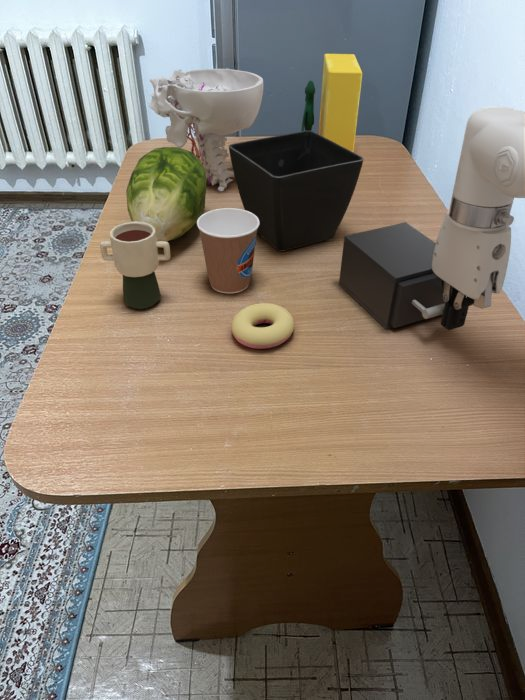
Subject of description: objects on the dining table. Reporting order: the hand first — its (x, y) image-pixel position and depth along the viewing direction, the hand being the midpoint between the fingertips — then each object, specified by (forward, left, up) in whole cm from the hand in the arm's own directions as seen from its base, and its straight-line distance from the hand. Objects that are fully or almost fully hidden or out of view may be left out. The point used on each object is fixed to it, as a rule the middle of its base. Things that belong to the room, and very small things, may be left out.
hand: (452, 325), depth 85 cm
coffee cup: (+38, -6, -4) cm, 39 cm away
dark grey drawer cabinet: (+10, -11, -4) cm, 15 cm away
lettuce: (+56, -19, -4) cm, 59 cm away
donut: (+28, +6, -4) cm, 29 cm away
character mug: (+50, +4, -4) cm, 50 cm away
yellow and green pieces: (+35, -66, -4) cm, 74 cm away
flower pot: (+33, -28, -4) cm, 43 cm away
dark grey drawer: (+7, -8, -3) cm, 11 cm away
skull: (+58, -46, -4) cm, 74 cm away
